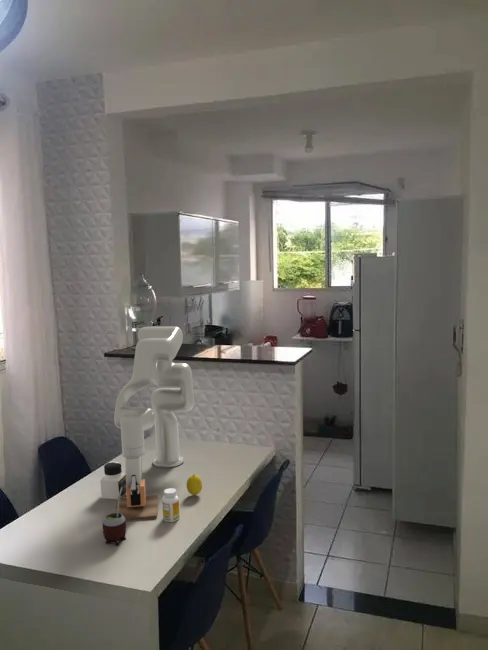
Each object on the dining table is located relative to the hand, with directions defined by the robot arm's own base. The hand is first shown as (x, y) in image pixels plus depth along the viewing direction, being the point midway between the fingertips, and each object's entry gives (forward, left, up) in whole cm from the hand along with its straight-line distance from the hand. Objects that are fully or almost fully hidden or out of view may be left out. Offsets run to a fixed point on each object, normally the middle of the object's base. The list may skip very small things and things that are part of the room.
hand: (136, 500), depth 193 cm
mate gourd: (+20, -5, -3) cm, 21 cm away
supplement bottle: (+9, +12, -3) cm, 15 cm away
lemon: (-7, +20, -3) cm, 21 cm away
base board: (0, 0, -3) cm, 3 cm away
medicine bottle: (-13, -9, -3) cm, 16 cm away
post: (0, 0, -3) cm, 3 cm away
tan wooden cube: (0, 0, -1) cm, 1 cm away
